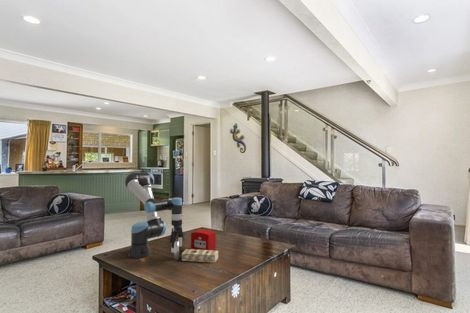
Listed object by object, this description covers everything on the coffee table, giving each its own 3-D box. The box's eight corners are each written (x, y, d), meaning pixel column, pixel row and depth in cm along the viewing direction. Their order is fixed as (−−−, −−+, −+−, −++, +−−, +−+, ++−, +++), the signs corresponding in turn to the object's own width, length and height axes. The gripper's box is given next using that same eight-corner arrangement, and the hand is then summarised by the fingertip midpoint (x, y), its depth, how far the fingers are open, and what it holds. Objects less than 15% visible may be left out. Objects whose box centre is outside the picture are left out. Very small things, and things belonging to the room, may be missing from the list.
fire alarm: (190, 250, 216) (190, 231, 216) (198, 247, 225) (198, 228, 225) (208, 254, 208) (208, 234, 208) (215, 250, 218) (215, 231, 218)
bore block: (181, 260, 194) (181, 253, 194) (186, 255, 204) (186, 248, 204) (215, 262, 191) (215, 255, 191) (218, 257, 200) (218, 250, 201)
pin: (173, 259, 196) (173, 242, 197) (175, 257, 200) (175, 241, 200) (178, 259, 196) (178, 242, 196) (179, 257, 199) (179, 241, 200)
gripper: (175, 223, 186) (175, 255, 185) (187, 216, 210) (187, 244, 210) (164, 223, 187) (164, 254, 186) (178, 216, 211) (177, 243, 211)
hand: (176, 249), depth 198 cm, fingers open, 13 cm apart
